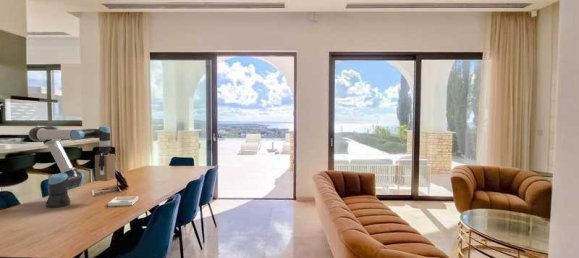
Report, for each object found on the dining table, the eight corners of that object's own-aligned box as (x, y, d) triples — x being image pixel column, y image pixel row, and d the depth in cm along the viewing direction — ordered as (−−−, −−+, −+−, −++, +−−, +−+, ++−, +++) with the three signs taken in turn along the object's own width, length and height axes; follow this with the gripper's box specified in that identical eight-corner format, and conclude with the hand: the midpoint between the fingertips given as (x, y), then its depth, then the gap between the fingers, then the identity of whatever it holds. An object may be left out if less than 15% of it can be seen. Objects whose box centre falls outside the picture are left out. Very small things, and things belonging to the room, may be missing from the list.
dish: (107, 206, 232) (107, 202, 232) (115, 200, 249) (115, 196, 248) (132, 205, 236) (132, 202, 235) (138, 199, 252) (138, 196, 252)
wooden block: (115, 178, 248) (115, 154, 247) (106, 181, 238) (106, 155, 237) (103, 178, 249) (103, 153, 248) (94, 180, 239) (94, 155, 238)
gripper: (104, 147, 232) (104, 175, 233) (115, 144, 255) (115, 170, 256) (93, 147, 230) (93, 176, 231) (105, 144, 253) (105, 170, 254)
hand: (105, 173), depth 244 cm, fingers closed on wooden block, 11 cm apart
